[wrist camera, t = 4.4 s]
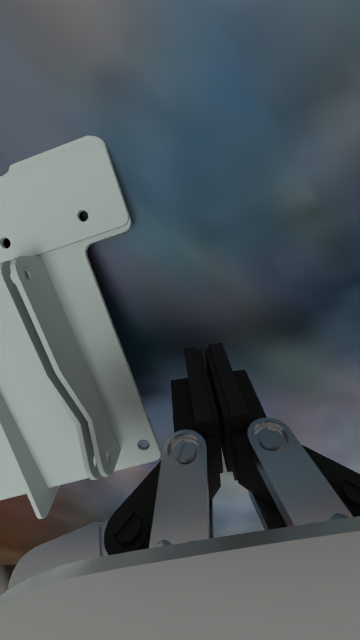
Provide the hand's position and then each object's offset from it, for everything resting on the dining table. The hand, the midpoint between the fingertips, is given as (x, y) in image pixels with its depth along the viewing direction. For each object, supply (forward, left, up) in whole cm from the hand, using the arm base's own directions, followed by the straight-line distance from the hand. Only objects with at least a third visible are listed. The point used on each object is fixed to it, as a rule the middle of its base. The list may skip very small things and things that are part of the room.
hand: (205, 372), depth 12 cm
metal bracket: (+9, -2, -2) cm, 9 cm away
